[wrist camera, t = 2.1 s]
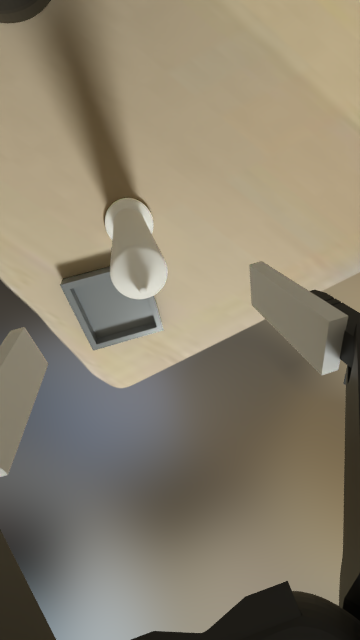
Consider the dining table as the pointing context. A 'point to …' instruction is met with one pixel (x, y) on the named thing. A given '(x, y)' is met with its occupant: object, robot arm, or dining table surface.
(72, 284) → the tray
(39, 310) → the dining table surface
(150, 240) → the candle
